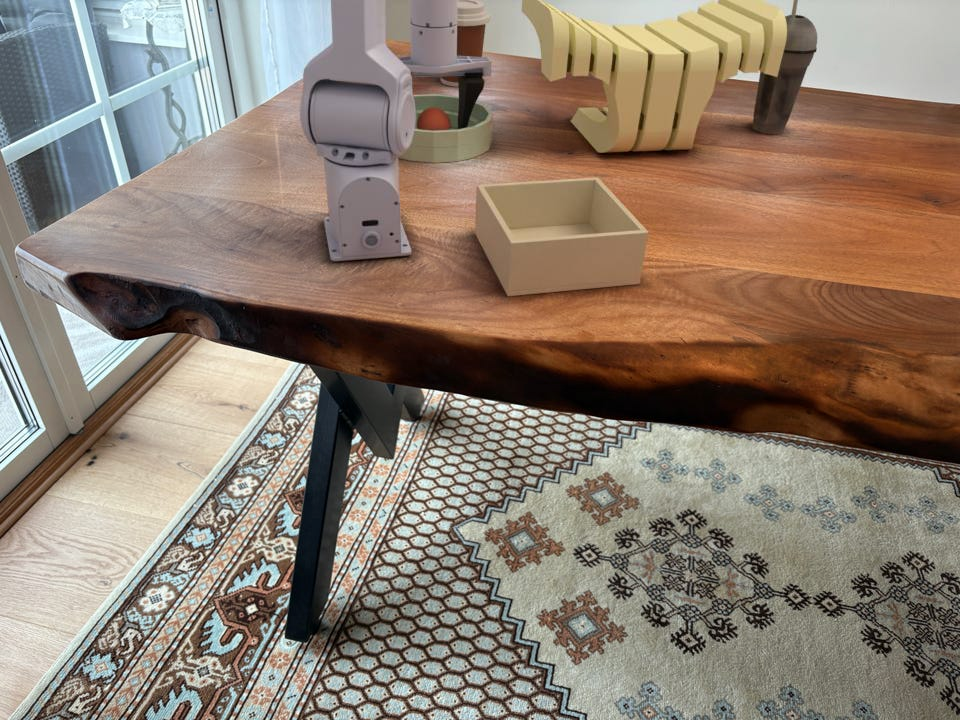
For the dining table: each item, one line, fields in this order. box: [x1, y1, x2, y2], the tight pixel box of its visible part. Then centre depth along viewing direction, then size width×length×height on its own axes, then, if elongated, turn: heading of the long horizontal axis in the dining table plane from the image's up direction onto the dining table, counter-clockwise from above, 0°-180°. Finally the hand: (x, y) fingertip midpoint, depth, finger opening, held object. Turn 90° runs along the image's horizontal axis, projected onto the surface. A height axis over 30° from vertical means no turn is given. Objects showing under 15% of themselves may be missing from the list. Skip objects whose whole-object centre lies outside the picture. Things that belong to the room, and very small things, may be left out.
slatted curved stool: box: [521, 0, 787, 154], centre depth 102 cm, size 30×16×18 cm, turn 101°
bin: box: [474, 176, 649, 297], centre depth 76 cm, size 13×13×6 cm
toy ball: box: [417, 107, 450, 131], centre depth 101 cm, size 4×4×4 cm
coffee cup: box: [440, 0, 491, 88], centre depth 124 cm, size 9×9×12 cm
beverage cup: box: [751, 0, 818, 135], centre depth 107 cm, size 7×7×20 cm
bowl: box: [398, 93, 494, 164], centre depth 101 cm, size 15×15×4 cm
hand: (433, 132), depth 101 cm, fingers open, 7 cm apart
